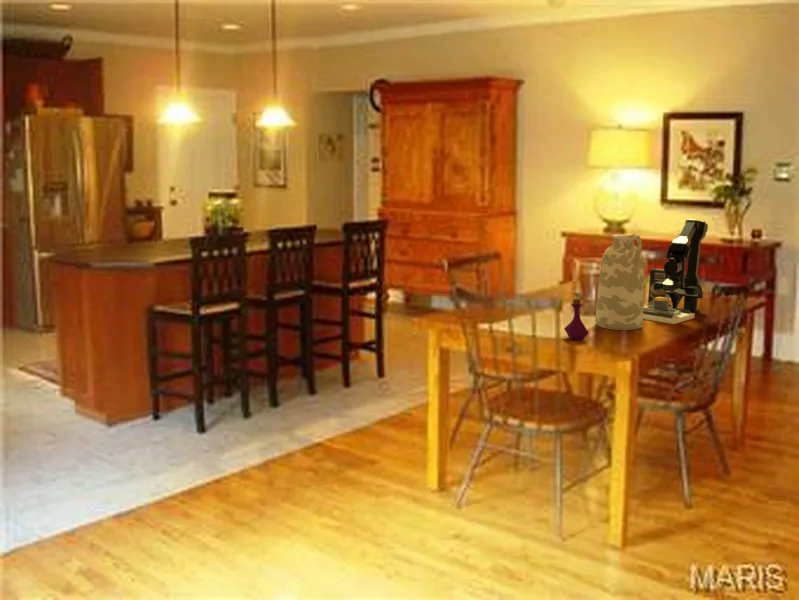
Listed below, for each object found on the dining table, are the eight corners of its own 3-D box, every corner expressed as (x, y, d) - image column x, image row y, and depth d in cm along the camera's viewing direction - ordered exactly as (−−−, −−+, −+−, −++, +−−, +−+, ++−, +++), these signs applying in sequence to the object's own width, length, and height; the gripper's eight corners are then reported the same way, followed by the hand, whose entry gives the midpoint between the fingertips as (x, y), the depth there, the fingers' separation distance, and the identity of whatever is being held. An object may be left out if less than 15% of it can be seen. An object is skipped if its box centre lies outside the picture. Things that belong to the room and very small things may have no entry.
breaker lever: (658, 310, 392) (659, 296, 391) (667, 311, 390) (668, 297, 388) (653, 311, 390) (654, 297, 388) (662, 313, 387) (663, 299, 386)
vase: (586, 322, 376) (591, 230, 369) (623, 319, 384) (629, 228, 377) (616, 333, 358) (622, 236, 351) (654, 329, 365) (661, 234, 358)
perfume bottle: (563, 336, 350) (566, 290, 347) (582, 336, 351) (585, 290, 348) (568, 341, 343) (571, 294, 340) (588, 341, 344) (591, 294, 340)
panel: (647, 310, 404) (648, 302, 403) (694, 318, 389) (694, 310, 388) (626, 315, 391) (626, 307, 391) (673, 324, 376) (674, 315, 375)
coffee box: (647, 304, 417) (649, 269, 414) (649, 302, 423) (651, 267, 420) (668, 306, 414) (670, 271, 411) (669, 303, 420) (672, 269, 417)
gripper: (647, 271, 382) (645, 307, 385) (689, 276, 370) (686, 314, 373) (660, 268, 390) (658, 304, 393) (702, 273, 378) (699, 310, 381)
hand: (674, 308), depth 385 cm, fingers closed
